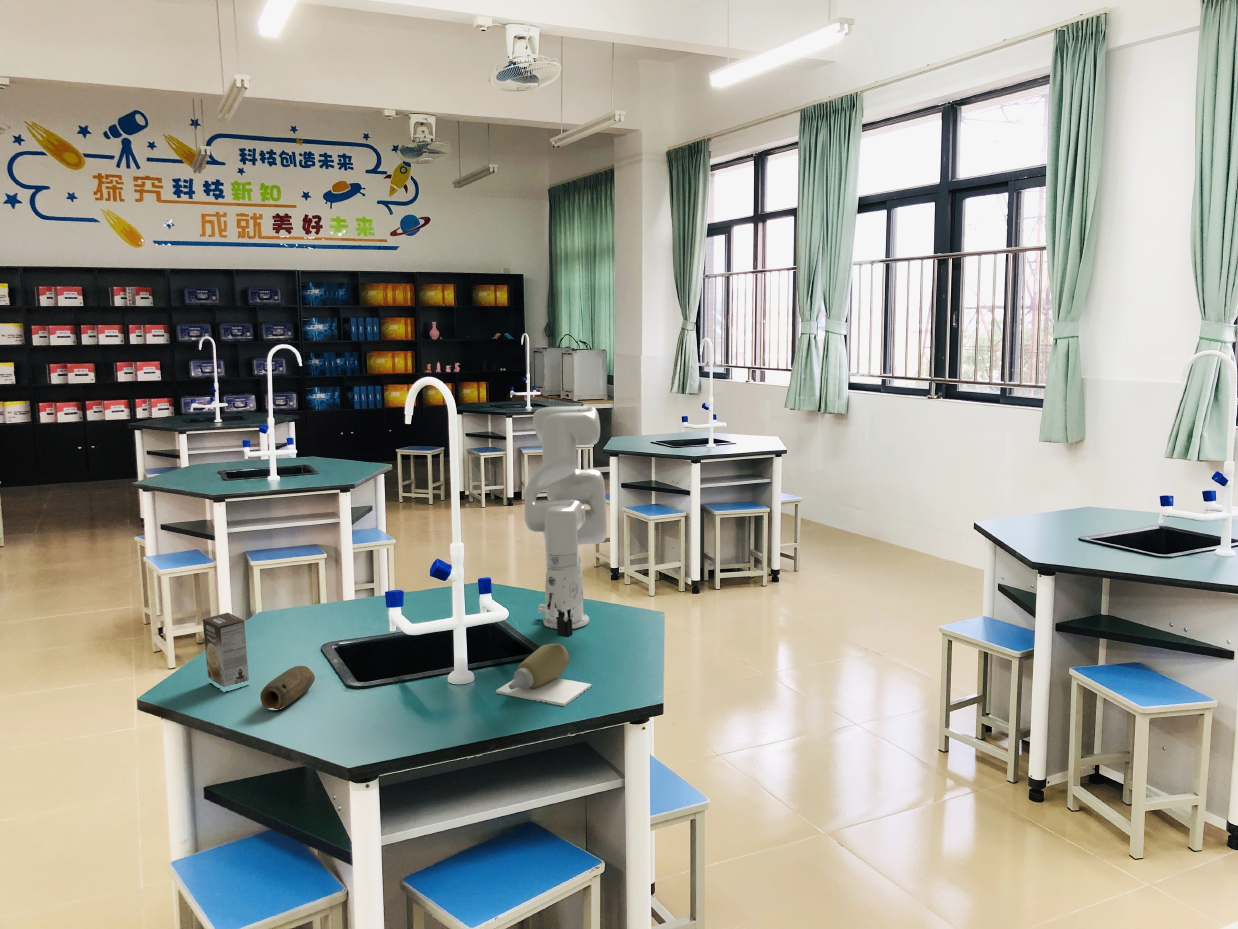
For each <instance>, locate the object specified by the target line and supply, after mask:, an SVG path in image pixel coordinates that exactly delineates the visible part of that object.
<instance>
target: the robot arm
mask: <svg viewBox="0 0 1238 929" xmlns="http://www.w3.org/2000/svg"><path fill="white" fill-rule="evenodd" d="M532 424H533V428H534V431H535V434H536V437H537V439H538V441H539V443H540V445H541V448H542V465H541V466H540V467H539V468H538V469H537V470H536V471H535V472H534V473H533V475H532V476H531V478H530V479H529V480H528V483H527V485H526V487H525V492H524V522H525V526H526V527H527V529H528V530H529V531H531V532H533V533H543V534H542V536H543V540H544V546H545V566H546V573H545V586H544V587H545V589H544V590H545V593H544V595H545V603H544V604H543V603H539V605H538V609H537V613H538V614H544V615H545V616H544V618H543V625H544V626H545V627H547V628H549V627H550V629H553V628H554V629H555V630H556V631H557V632H556V633H557V636H558V637H562V638H569V637H571V636H573V630H574V629H579V628H581V627H582V628H583V627H584V626H587V625H588V624H589V623H590V617H589V615H587V614H586V613H584V589H583V588H584V587H583V586H584V585H583V566H582V565H583V564H582V559H581V556H580V554H579V545H596V544H602V543H603V542H604V541H605V540H606V538H607V528H608V527H607V521H608V520H607V502H606V500H607V499H606V488H605V487H606V485H605V479H604V477H603V474H602V473H601V471H599V470H597V469H594V468H593V469H590V468H589V469H578V462H577V461H578V459H577V454H578V453H577V446H592V445H593V446H594V445H596V444H597V443H598V442H599V440H600V437H601V422H600V416H599V412H598V410H597V409H596V407H594V406H592V405H578V406H577V405H575V406H573V405H572V406H547V407H542V408H539V409H537V410H535V411H534V413H533V415H532ZM545 489H546V490H545ZM543 490H545V491H546V497H547V499H544V500H543V499H542V500H541V499H540V500H537V497H538V496H539V495H540V492H542V491H543ZM584 505H586V506H588V507H589V508H588V509H587V508H586V509H585V507H584Z"/></svg>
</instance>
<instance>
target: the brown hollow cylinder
mask: <svg viewBox="0 0 1238 929" xmlns="http://www.w3.org/2000/svg"><path fill="white" fill-rule="evenodd" d="M315 680H316V678H315V674H314V672H313V671H312V670H311V669H310V668H309V667H308V666H306V665H295V666H293V667H291V668H289V669H287V670H285V671H284V672H283V673H281V674H279V675H277V676H276V677H275V678H273V679H272V680H270V681H269V682H268V683H267V684H266V685H265V686H264V687H263V688H262V690H261V691H260V695H259V696H260V703H261V704H262V706H263V707H264V708H265V707H266V708H265V709H267V708H274V709H280V708H282V707H284V706H286V705H287V706H289V705H291V704H292V703H293V702H295V701H296V700H298V699H299V698H300V697H302V696H303V695H304V694H305V693H306V692H307V691H308V690H309V689H310V688H311V687H312V685H313V684H314V682H315ZM302 694H303V695H302ZM298 697H299V698H298ZM297 698H298V699H297ZM294 700H295V701H294ZM291 702H292V703H291ZM288 704H289V705H288ZM287 706H286V707H287ZM284 708H285V707H284ZM282 709H283V708H282ZM280 710H281V709H280Z"/></svg>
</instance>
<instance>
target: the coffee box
mask: <svg viewBox="0 0 1238 929" xmlns="http://www.w3.org/2000/svg"><path fill="white" fill-rule="evenodd" d="M202 626H203V627H202V628H203V629H202V630H203V638H204V639H203V640H204V647H205V648H204V649H205V658H206V660H205V661H206V670H207V678H210V679H211V680H212V681H214V682H216V683H218V684H219V685H221V686H223V687H226V686H230V685H234V684H238V683H241V682H245V681H248V680H249V681H250V676H249V675H250V674H249V665H248V664H249V663H248V652H247V651H248V650H247V640H246V639H247V638H246V629H245V627H246V626H245V620H244V619H242V618H240V617H238V616H236V615H234V614H232V613H230V612H225V613H221V614H217V615H212V616H209V617H205V618H203V619H202Z"/></svg>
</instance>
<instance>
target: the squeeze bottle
mask: <svg viewBox="0 0 1238 929" xmlns="http://www.w3.org/2000/svg"><path fill="white" fill-rule="evenodd" d="M569 663H570V655H569V652H568V650H567V649H566V647H565V646H564V645H562V644H560V643H550V644H543V645H541V646H539V647H538V648H537V649H536V650H535V651H534V652H532V653H531V654H530V655H528V657H526V658H525V659H524V660H522V662H520V664H519V665H518V667H517V670H515V672H513V679H512V680H513V681H512V680H511V681H512V682H511V684H510V685H509V688H510V689H515V688H518V687H519V688H521V689H523V690H526V689H528V688H532V689H534V688H536V687H538V686H540V685H542V684H544V683H546V682H548V681H550V680H552V679H554V678H559V677H560V676H562V674H563V672H564V671H565V669H566V667H567V666H568V665H569Z"/></svg>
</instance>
